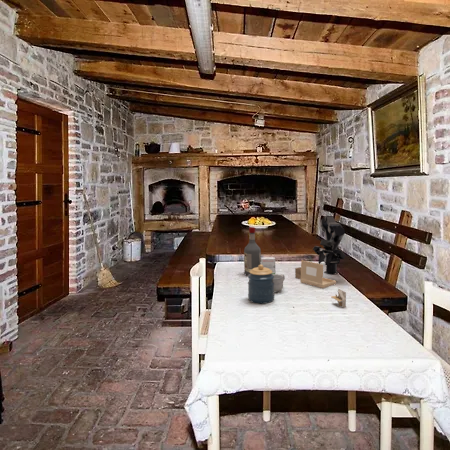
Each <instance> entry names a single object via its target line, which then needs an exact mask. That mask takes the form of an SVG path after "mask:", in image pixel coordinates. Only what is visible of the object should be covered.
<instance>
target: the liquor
mask: <svg viewBox="0 0 450 450" xmlns="http://www.w3.org/2000/svg"><path fill="white" fill-rule="evenodd" d="M248 233H249V235H248V236H249V238H248V239H249V241H248V243H247V245H246V246H245V247H244V249H243V252H244V253H243V258H244V259H243V261H244V262H243V263H244V265H243V266H244V267H243V269H244V272H243V273H244V275H245V274H246V275H245V276H247V277H248V275H249V274H250V272H249V271H250V270H252V269H253V268H256V267H258V266H259V265H260V264H261V258H262V256H261V255H262V250H261V247H260V246H259V245H258V244H257V242H256V234H255V233H256V227H253V226H252V227H249V228H248Z"/></svg>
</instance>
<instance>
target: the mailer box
mask: <svg viewBox="0 0 450 450" xmlns="http://www.w3.org/2000/svg"><path fill="white" fill-rule="evenodd" d="M299 280H300V284H301V283H302V284H304V285H309V286H313V287H316V288H320V289H326V288H329V287H332V286H335V285H336V284H337V281H336V280H334V279H330V278H326V277H323V284H320V283H316V282H312V281H308V280H304V279H299ZM334 284H335V285H334Z"/></svg>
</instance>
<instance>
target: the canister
mask: <svg viewBox="0 0 450 450" xmlns="http://www.w3.org/2000/svg"><path fill="white" fill-rule="evenodd" d="M249 272H250V274H249V275H248V276H247V278H248V282H247V284H248V285H247V287H248V294H247V297H248V300H249V301H250V302H252V303H253V304H269V303H272V302H273V301H274V300H275V292H274V282H273V278H274V275H273V274H272V270H270V269H269V268H265V267H263V265H261V264H260V265H259V266H258V267H256V268H253V269H252V270H250V271H249Z"/></svg>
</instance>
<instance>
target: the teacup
mask: <svg viewBox="0 0 450 450" xmlns="http://www.w3.org/2000/svg"><path fill="white" fill-rule="evenodd" d="M273 275H274V278H273V282H274V293H277V292H280V291H281V290H282V289H283V288H284V281H285V279H286V277H285V275H284V274H283V273H282V274H277V273H275V274H273Z"/></svg>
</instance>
